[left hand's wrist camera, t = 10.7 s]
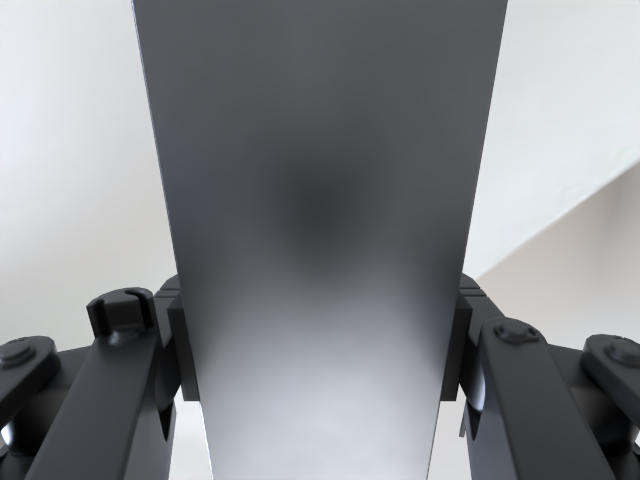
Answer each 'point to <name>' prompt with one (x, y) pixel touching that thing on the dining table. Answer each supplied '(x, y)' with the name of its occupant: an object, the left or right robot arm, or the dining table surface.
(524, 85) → the dining table surface
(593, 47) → the dining table surface
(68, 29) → the dining table surface
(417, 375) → the bar
